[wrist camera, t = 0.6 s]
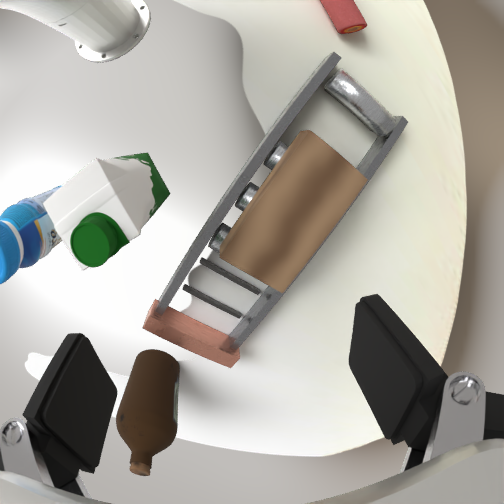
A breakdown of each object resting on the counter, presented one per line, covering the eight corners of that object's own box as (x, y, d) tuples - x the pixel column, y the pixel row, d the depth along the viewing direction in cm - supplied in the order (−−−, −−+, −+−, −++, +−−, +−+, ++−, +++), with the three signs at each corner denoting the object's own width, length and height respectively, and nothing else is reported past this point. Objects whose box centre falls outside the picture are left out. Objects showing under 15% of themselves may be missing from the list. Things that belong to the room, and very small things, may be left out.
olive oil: (129, 371, 51) (105, 471, 28) (137, 339, 48) (106, 451, 25) (175, 386, 54) (167, 487, 31) (189, 356, 50) (181, 471, 28)
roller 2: (234, 202, 40) (235, 209, 36) (249, 180, 39) (252, 184, 35) (297, 244, 44) (304, 253, 40) (312, 223, 42) (321, 232, 39)
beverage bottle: (71, 173, 35) (-15, 205, 17) (95, 217, 38) (23, 274, 20) (40, 201, 36) (-39, 244, 17) (63, 242, 39) (-6, 302, 21)
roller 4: (321, 89, 34) (331, 85, 30) (335, 72, 33) (346, 66, 29) (374, 136, 37) (387, 136, 34) (386, 118, 36) (400, 117, 33)
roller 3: (261, 163, 38) (265, 165, 34) (277, 141, 37) (283, 141, 33) (324, 208, 42) (333, 215, 38) (338, 188, 41) (349, 193, 37)
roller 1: (208, 241, 42) (207, 251, 38) (223, 219, 41) (223, 227, 37) (272, 277, 45) (276, 290, 42) (286, 258, 44) (292, 269, 41)
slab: (219, 246, 38) (219, 257, 34) (300, 131, 33) (309, 130, 29) (277, 279, 41) (282, 293, 37) (354, 175, 36) (368, 179, 32)
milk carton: (131, 223, 39) (73, 288, 21) (103, 174, 36) (23, 206, 18) (179, 195, 39) (143, 245, 20) (150, 143, 35) (87, 147, 17)
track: (148, 311, 46) (142, 328, 41) (322, 54, 32) (335, 45, 28) (229, 349, 51) (230, 368, 46) (399, 124, 37) (417, 124, 33)
